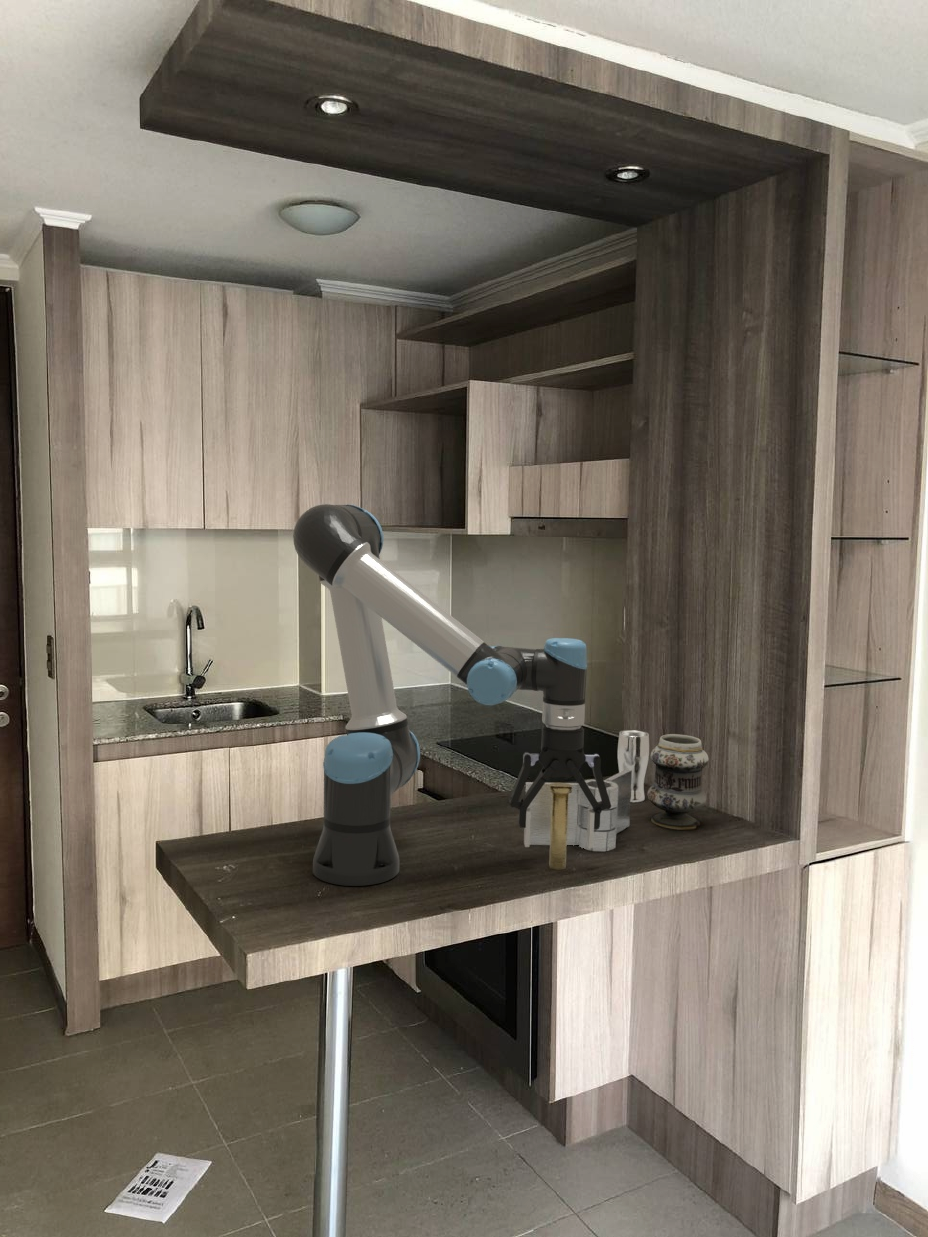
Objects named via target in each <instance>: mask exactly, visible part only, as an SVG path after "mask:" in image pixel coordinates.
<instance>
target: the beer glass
mask: <svg viewBox="0 0 928 1237" xmlns="http://www.w3.org/2000/svg"><path fill="white" fill-rule="evenodd" d="M649 736H650V734H649V732H646V731H642V730H633V729H632V730H629V729H628V730H626V729H625V730H621V731H619V736H618V743H617V764H618V773H620V772H622V771H624V770H626V769H627V770H632V778H631V798H630V803H640V802H641V803H642V802H643V801H645V798H646V797H645V789H644V788H645V787H644V785H645V776H646V772H647V767H648V764H649V760H650V759H649V757H650V737H649Z"/></svg>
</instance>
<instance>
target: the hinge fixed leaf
mask: <svg viewBox="0 0 928 1237" xmlns="http://www.w3.org/2000/svg"><path fill="white" fill-rule="evenodd" d="M584 780H585V782H586V784H587V785H588V787H589V789H590V790H591V792H592V794H593V795H594V797H595V799H596V800H597V802H600V801H602V800H601V797H600V793H599V790H598V787H597V783H596V780H595V779H594V778H593V779H590V778H589V779H584ZM603 780H604V783H605V787H606V790H607V793H608V796H609V800H610V803H611V808H614V807H617V805H618V785H617V784H616V783H614V782H611V781H607V780H605V779H603ZM533 782H534V781H532V782H531V781H526V783H525V793H526V792H527V791H528V789H529V788H530V786H531V785H532V784H533ZM551 783H552V782H545V784H544V785H543V786H542V788H541V789H540V791H539V792H538V794H537V795H536V796H535V798H534V799H533V801H532V802H531V804H530V805H529V806H528V807H529V808H530V811H531V817H530V844H529V846H550V830H551V805H552V792H550V791H549V786H550V784H551ZM566 783H567V784H570V785H572V792H571V793H569V800H568V824H567V845H573V847H574V845H579V846H578V847H579V848H580V847H581V849H583V848H584V849H585V850H586V851H592V852H609V851H611V850H614V849H616V846H617V845H616V842H617V834H616V827H615V828H613V829H611V830H598V831H597V830H594V838H593V848H588V845H587V828H583V827H581V826H580V825H579V824H578V809H579V804H581V805H582V806H584V807H588V808H591V809H593V807H592V805H591V804H590V802H589V800H588V799H587V797H586V796H585V794H584V792H583V791H582V789H581V787H580V786H579V784H578V782H566ZM611 808H610V809H611ZM523 845H524V846H525V844H524V843H523Z"/></svg>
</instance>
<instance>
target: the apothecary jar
mask: <svg viewBox="0 0 928 1237" xmlns="http://www.w3.org/2000/svg"><path fill="white" fill-rule="evenodd" d="M708 755H709V754H707V752H706V751H705V750H704V749H703V746H702V740H701V739H700V738H698V737H695V736H692V735H687V734H678V733H670V734H669V733H668V734H664V735H661V736H660V738H659V742H658V744H657V745H656V746H654V747H653V749H651V752H650V760H651V761H652V762H653V763H654V764H655V774H654V780H653V781H654V782H653V784H652V785H650V787H649V788H648V790H647V793H646V794H647V798H648V801H649V802H650V803H651V804H652V805H653V806H655V807H656V808H658V809H660V810H662V811H663V812H661V813H657V814H654V815H653V816H652V817H651V822H652V823H653V824H654V825H656V826H658V827H661V828H663V829H664V828H665V829H669V830H675V831H676V830H680V831H684V830H685V831H687V830H688V831H689V830H694V829H696V828H697V826H700V821H699V820H697V818H695V817H693V816H691V815H689V814H688V813H693V812H696V811H699V810H701V809H702V808H703V807H704V805H706V802H707V795H706V792H704V790H703V789H702V775H703V774H702V773H703V769H704V768H706V766H707V765H708V763H709V756H708Z"/></svg>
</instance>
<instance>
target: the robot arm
mask: <svg viewBox="0 0 928 1237" xmlns="http://www.w3.org/2000/svg"><path fill="white" fill-rule="evenodd" d="M292 538H293V545H294V550H295V552H296V554H297V556H298V558H299V559H300V560H301V561H302V562H303V564H305V566H306V567H308V568H309V569H310V570H311V571H313V572H314V573H316V575H318V578H319V583H320V584H321V585H322V586H323V587H325V588H326V589H328V591H329V592H330V599H331V603H332V604H331V606H332V610H333V615H334V622H335V627H336V634H337V638H338V644H339V649H340V656H341V661H342V667H343V673H344V679H345V683H346V690H347V695H348V700H349V701H348V702H349V705H350V712H351V717H350V719H349V721H348V722H347V723H346V725H345V730H346V735H344V734H343V735H339V736H338V737H335V738H334V739H332V740H331V741H329V742H328V744H327V745H326V747H325V750H324V758H323V762H322V766H323V767H322V768H323V827H322V830H321V835H320V837H319V841H318V843H317V846H316V849H315V853H314V855H313V859H312V874H313V875H314V876H315V877H316V878H317V879H319V880H320V881H322V882H325V883H329V884H333V885H338V886H346V887H347V886H348V887H349V886H350V887H358V886H359V887H363V886H371V885H376V884H381V883H384V882H387V881H390V880H391V879H393V878H395V877H397V875H398V874H399V872H400V856H399V852H398V849H397V845H396V842H395V838H394V836H393V832H392V830H391V806H392V803H391V802H392V795H393V794H394V793H396V792H397V790H399V789H400V788H402V787H404V786H405V785H406V784H408V782H409V781H411V779H412V778H413V776H414V775H415V773H416V771H417V769H418V767H419V765H420V761H421V759H420V758H421V748H420V744H419V741H418V739H417V737H416V736H415V734H414V733H413V732H412V731H411V730H410V728H409V721H408V716H407V714H406V713H404V712H403V711H401V710H399V708H398V705H397V700H396V695H395V688H394V683H393V682H394V681H393V677H392V671H391V670H392V669H391V665H390V660H389V652H388V647H387V643H386V642H387V641H386V637H385V636H386V635H385V630H384V624H383V620H384V621H385V622H386V623H388V624H389V625H391V626H392V627H393V628H395V629H396V631H398V632H399V633H401V634H402V635H403V636H405V637H406V638H407V639H408V640H410V641H411V642H412V643H413V644H415V645H416V646H417V647H419V648H420V649H421V650H422V651H424V652H425V653H426V654H427V655H428V656H430V657H431V658H433V660H435V661H436V662H437V663H439V664H440V665H441V666H443V667H444V668H445V669H446V670H448V672H450V673H451V674H453V675H454V677H456V678H458V680H460V681H461V682H462V683H463V684H465V685H466V687H467V690H468V693H469V695H470V696H471V698H473V699H474V701H476V702H477V703H479V704H481V705H485V706H495V705H499V704H501V703H503V702H506V701H507V700H508V699H509V698H511V697H512V696H513V695H514V693H515V692H516V691H533V692H542V713H541V716H542V717H541V721H542V723H543V724H544V725H542V727H541V741H540V742H541V743H540V750H539V752H538V753H530V752H528V751H525V752H524V753H523V755H522V766H521V768H520V770H519V773H518V776H517V778H516V782H515V784H514V786H513V789H512V791H511V794H510V797H509V799H508V800H509V805H510V807H511V808H516V809H518V826H519V828H521V829H523V828H524V830H523V833H524V834H523V845H524V844H525V845H524V847H525V848H530V845H529V844H530V817H531V811H530V808H529V807H528V806H529V805H530V804H531V802H532V801H533V799H534V798H535V796H536V795H537V794H538V792H539V791H540V789H541V788H542V786H543V785H544V784H545V783H547V782H548V781H549V779H550V778H551V777H552V778H554V779H555V778H556V779H558V778H564V779H570V778H572V777H573V778H574V779H575V780H576V783H578V784H579V786H580V787H581V789H582V791H583V792H584V794H585V796H586V797H587V799H588V800H589V802H590V804H591V805H592V807H593V809H588V823H587V845H588V848H593V838H594V829H599V827H600V813H601V812H602V810H604V809H610V808H611V803H610V800H609V796H608V793H607V790H606V787H605V783H604V780H605V779H604V776H603V773H602V769H601V765H602V764H601V762H602V759H601V757H600V755H599V753H593V754H585V751H584V745H585V744H584V743H585V742H584V738H585V728H584V727H583V725H585V714H586V713H585V711H586V696H587V695H586V692H587V674H588V654H587V653H588V652H587V650H588V649H587V648H588V647H587V645H586V643H585V642H584V641H583V640H581V639H578V638H570V637H569V638H567V637H554V638H553V637H552V638H548V639H547V640H546V641H545V642H544V643H545V644H544V647H543V648H523V647H513V646H512V647H510V646H502V645H496V646H495V645H494V646H491V645H488V644H487V643H486V642H485V641H484V640H483V639H481V638H480V637H479V636H478V635H476V634H475V633H474V632H472V631H471V630H470V629H469V628H467V627H466V626H465V625H463V624H462V622H460V621H459V620H458V619H456V618H455V617H453V616H452V615H451V614H450V613H448V612H447V611H446V610H444V608H442V607H441V606H440V605H438V604H437V603H436V602H434V601H433V600H432V599H431V598H429V597H428V596H427V595H426V594H424V593H423V592H422V591H420V590H419V589H418V588H417V587H416V586H414V585H413V584H412V583H411V582H409V581H408V580H406V579H405V578H404V577H403V576H402V575H400V574H399V573H397V572H396V571H395V570H394V569H392V568H391V567H390V566H389V565H387V564H386V563H385V562H383V561H382V560H381V557H380V554H381V551H382V549H383V546H384V533H383V529H382V526H381V523H380V522H379V520H378V519H377V518H376V516H374V514H372V513H371V512H369V511H368V510H367V509H364V508H362V507H360V506H358V505H354V504H328V503H327V504H324V503H323V504H318V505H314V506H312V507H311V508H308V509H307V510H305V511H304V513H302V514H301V516H300V517H299V518H298V520H297V521H296V524H295V525H294V529H293V536H292ZM537 761H539V763H540V764H541V766H542V768H541V770H540V771H539V773H538V774H537V777H536V778H535V779H534V781H532V782H533V784H532V785H531V786H530V788H529V789H528V791H527V792H526V791H525V794H524V795H523V797H522V798H521V795H522V793H523V790H524V787H525V786H526V782H527V780H528V777H529V775H530V772H531V767H534V766H535V764H536V762H537ZM585 763H587V764H588V766H589V767H590V768H591V769H592V773H593V777H594V780H596V783H597V787H598V790H599V793H600V797H601V800H602V801H600V802H597V800H596V799H595V797H594V795H593V794H592V792H591V790H590V789H589V787H588V785H587V784H586V782H585V780H586V779H584V777H583V775H582V773H581V772H580V769H581V768H582V766H583V765H584V764H585ZM520 798H521V799H520Z"/></svg>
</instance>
